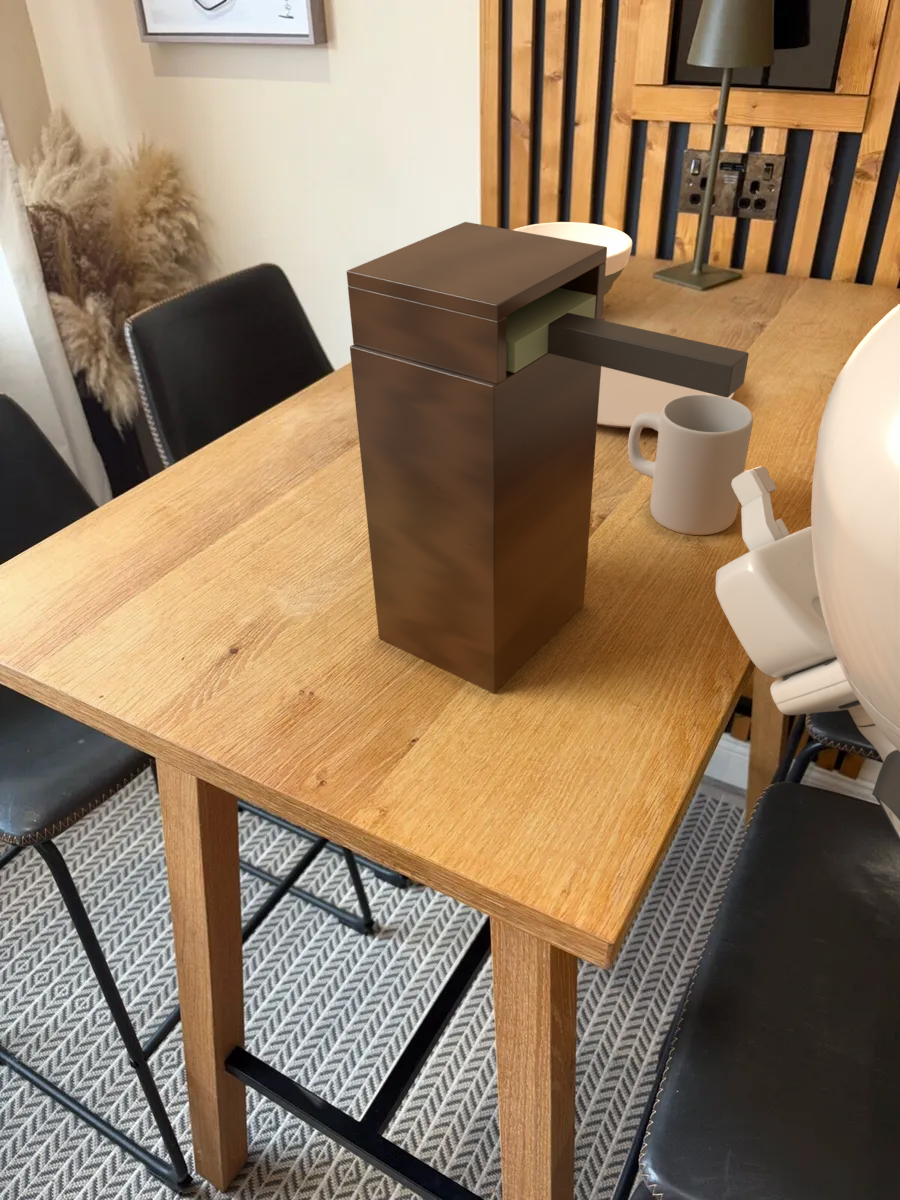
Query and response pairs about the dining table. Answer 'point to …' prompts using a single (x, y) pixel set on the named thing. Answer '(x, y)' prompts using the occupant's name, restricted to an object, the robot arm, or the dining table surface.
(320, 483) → the dining table surface
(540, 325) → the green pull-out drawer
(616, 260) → the bowl
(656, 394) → the plate
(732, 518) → the mug
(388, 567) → the stand
